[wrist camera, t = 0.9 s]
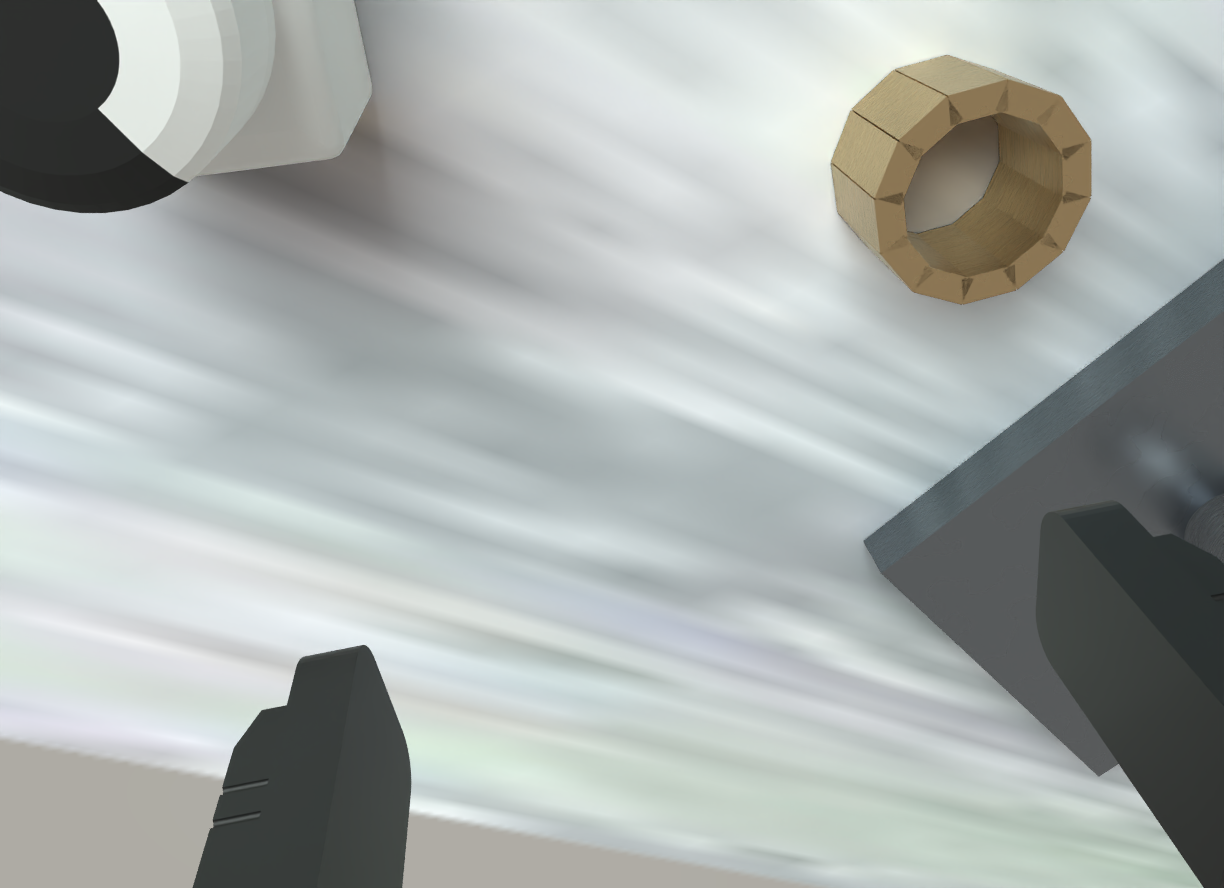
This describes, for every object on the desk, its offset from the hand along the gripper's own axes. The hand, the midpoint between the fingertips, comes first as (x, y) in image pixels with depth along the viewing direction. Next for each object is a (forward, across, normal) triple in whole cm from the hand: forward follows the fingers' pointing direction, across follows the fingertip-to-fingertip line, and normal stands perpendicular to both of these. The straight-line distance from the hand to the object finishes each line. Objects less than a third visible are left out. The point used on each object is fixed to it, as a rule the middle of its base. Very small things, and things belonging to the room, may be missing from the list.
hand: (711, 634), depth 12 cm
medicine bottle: (+21, +9, -7) cm, 24 cm away
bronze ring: (+21, -10, +2) cm, 24 cm away
